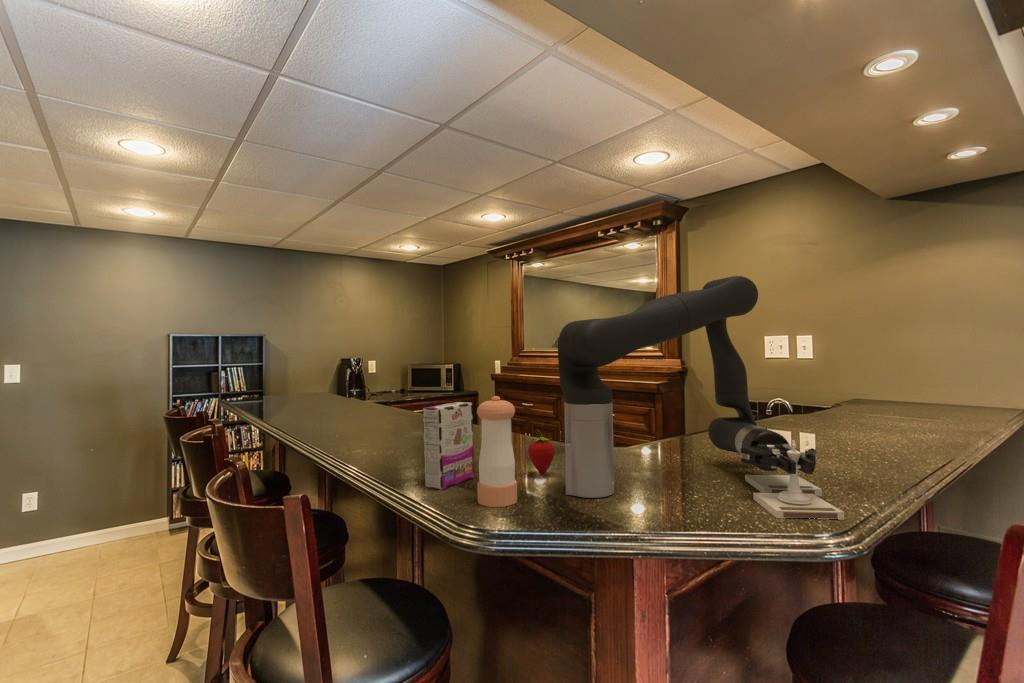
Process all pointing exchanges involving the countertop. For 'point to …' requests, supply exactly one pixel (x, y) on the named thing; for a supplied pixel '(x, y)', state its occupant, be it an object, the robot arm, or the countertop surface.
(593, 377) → the robot arm
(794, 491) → the chess piece
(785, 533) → the countertop surface
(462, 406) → the candy bar box
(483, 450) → the pepper shaker
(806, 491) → the tile two
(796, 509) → the tile one
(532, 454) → the strawberry
